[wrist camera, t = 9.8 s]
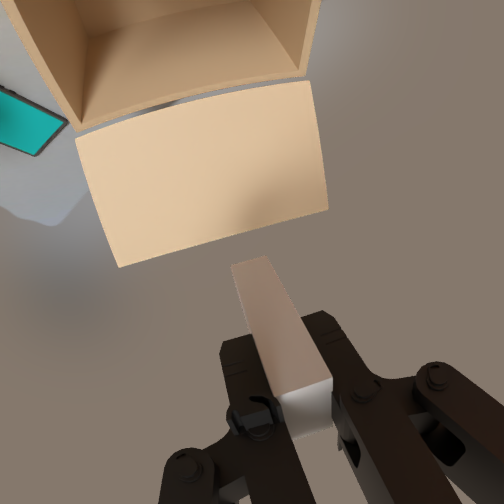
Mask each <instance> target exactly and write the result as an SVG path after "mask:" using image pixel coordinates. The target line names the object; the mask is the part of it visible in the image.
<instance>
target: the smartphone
mask: <svg viewBox="0 0 504 504" xmlns="http://www.w3.org/2000/svg"><path fill="white" fill-rule="evenodd" d="M66 124H67V119H66V118H64V117H62V116H60V115H58V114H56V113H54V112H52V111H50V110H48V109H46V108H44V107H42V106H40V105H38V104H36V103H34V102H32V101H30V100H28V99H26V98H24V97H22V96H20V95H18V94H16V92H14V91H12V90H8V89H6V88H4V86H1V85H0V144H3V145H6V146H8V147H11V148H13V149H16V150H18V151H21V152H24V153H26V154H29V155H31V156H34V157H36V156H37V155H38V154H39V153H40V152H41V151H42V150H43V149H44V147H45V146H46V145H47V144H48V143H49V142H50V141H51V140H52V139H53V138H54V137H55V136H56V135H57V133H58V132H59V131H60V130H61V129H62V128H63V127H64V126H65V125H66Z"/></svg>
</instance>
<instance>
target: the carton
mask: <svg viewBox="0 0 504 504" xmlns="http://www.w3.org/2000/svg"><path fill="white" fill-rule="evenodd" d="M0 1H1V3H2V5H3V7H4V9H5V11H6V13H7V15H8V17H9V19H10V21H11V23H12V24H13V26H14V28H15V30H16V32H17V34H18V36H19V38H20V39H21V41H22V43H23V45H24V47H25V48H26V50H27V52H28V54H29V56H30V57H31V59H32V61H33V63H34V64H35V66H36V68H37V69H38V71H39V73H40V75H41V76H42V78H43V80H44V81H45V83H46V85H47V86H48V88H49V90H50V91H51V93H52V94H53V96H54V98H55V99H56V101H57V103H58V104H59V106H60V107H61V109H62V110H63V112H64V114H65V115H66V117H67V118H68V120H69V121H70V123H71V124H72V126H73V128H74V129H75V131H76V132H80V131H82V130H85V129H88V128H90V127H93V126H95V125H98V124H101V123H104V122H106V121H109V120H112V119H115V118H118V117H121V116H124V115H127V114H130V113H133V112H136V111H139V110H142V109H146V108H149V107H152V106H156V105H159V104H163V103H166V102H170V101H173V100H177V99H181V98H185V97H189V96H193V95H197V94H201V93H206V92H210V91H214V90H220V89H224V88H229V87H234V86H240V85H245V84H251V83H257V82H263V81H270V80H277V79H283V78H291V77H299V76H305V74H306V69H307V65H308V60H309V56H310V51H311V47H312V42H313V37H314V33H315V28H316V23H317V18H318V14H319V9H320V4H321V0H0Z"/></svg>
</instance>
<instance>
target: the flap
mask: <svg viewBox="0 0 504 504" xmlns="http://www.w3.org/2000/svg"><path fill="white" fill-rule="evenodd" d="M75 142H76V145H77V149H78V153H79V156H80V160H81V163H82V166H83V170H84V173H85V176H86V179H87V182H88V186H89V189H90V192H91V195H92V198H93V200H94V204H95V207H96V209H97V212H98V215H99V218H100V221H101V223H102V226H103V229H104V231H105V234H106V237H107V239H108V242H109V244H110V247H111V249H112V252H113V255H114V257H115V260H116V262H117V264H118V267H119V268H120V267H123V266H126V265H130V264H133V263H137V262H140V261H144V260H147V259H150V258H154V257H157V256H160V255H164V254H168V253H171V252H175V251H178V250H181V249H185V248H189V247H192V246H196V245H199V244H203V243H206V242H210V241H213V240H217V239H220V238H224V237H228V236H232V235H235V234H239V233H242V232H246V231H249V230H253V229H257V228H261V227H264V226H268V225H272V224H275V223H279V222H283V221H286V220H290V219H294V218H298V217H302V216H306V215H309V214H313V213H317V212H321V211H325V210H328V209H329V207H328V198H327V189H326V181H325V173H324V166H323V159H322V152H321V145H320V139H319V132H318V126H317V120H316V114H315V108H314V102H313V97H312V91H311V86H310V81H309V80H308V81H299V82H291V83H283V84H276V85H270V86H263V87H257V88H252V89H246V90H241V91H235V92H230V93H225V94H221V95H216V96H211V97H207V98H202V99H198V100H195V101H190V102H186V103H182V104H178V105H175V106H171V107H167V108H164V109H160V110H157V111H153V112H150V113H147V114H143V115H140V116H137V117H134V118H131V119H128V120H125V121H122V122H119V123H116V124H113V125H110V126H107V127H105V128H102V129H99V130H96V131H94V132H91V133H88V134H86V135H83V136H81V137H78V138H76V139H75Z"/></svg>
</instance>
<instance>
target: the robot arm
mask: <svg viewBox="0 0 504 504" xmlns="http://www.w3.org/2000/svg"><path fill="white" fill-rule="evenodd" d="M230 267H231V270H232V274H233V277H234V281H235V285H236V289H237V292H238V296H239V300H240V303H241V307H242V311H243V314H244V318H245V321H246V324H247V327H248V330H249V333H250V334H248V335H245V336H241V337H238V338H234V339H231V340H227V341H223V343H222V347H221V350H220V353H219V355H220V360H221V365H222V370H223V374H224V378H225V383H226V388H227V393H228V397H229V402H230V406H229V408H228V410H227V414H226V421H227V423H228V425H229V426H230V429H229V431H228V433H227V434H226V435H225V436H224V437H223V438H222V439H220V440H219V441H218V442H216V443H214V444H213V445H210V446H209V447H207V448H205V449H203V450H201V449H197V448H185V449H181V450H179V451H177V452H175V453H174V454H173V455H172V456H171V457H170V458H169V459H168V460H167V462H166V465H165V467H164V473H163V479H162V484H161V490H160V496H159V502H158V504H239V500H240V499H241V498H243V497H245V496H247V495H250V499H251V502H252V504H316V502H315V499H314V497H313V494H312V492H311V489H310V486H309V484H308V481H307V479H306V476H305V473H304V471H303V468H302V465H301V463H300V460H299V458H298V455H297V452H296V450H295V447H294V444H293V442H292V441H293V440H296V439H299V438H302V437H305V436H308V435H311V434H313V433H316V432H319V431H322V430H325V429H327V428H330V427H333V421H334V423H335V426H336V428H337V430H338V444H337V445H338V450H339V451H340V450H342V448H343V451H344V453H345V455H346V457H347V459H348V461H349V463H350V465H351V468H352V470H353V472H354V474H355V476H356V478H357V480H358V483H359V485H360V487H361V489H362V491H363V493H364V495H365V497H366V500H367V502H368V504H462V503H461V501H460V499H459V498H458V496H457V494H456V493H455V491H454V489H453V487H452V486H451V484H450V482H449V481H448V479H447V477H448V478H449V479H450V480H451V481H452V482H453V483H454V484H455V485H457V486H458V487H459V488H460V489H461V490H462V491H463V492H464V493H465V494H466V495H467V496H469V497H470V498H471V499H472V500H473V501H474V502H475V503H476V504H504V406H503V405H502V404H500V403H499V402H498V401H496V400H495V399H494V398H493V397H491V396H490V395H489V394H487V393H486V392H485V391H483V390H482V389H481V388H480V387H478V386H477V385H476V384H474V383H473V382H472V381H470V380H469V379H468V378H466V377H465V376H464V375H462V374H461V373H460V372H459V371H457V370H456V369H454V368H453V367H452V366H450V365H448V364H446V363H444V362H437V361H436V362H431V363H427V364H426V365H424V366H422V367H421V368H420V370H419V371H418V372H417V374H416V376H411V377H405V378H399V379H385V378H381V377H380V376H378V375H375V374H373V373H372V372H371V371H370V370H369V369H368V368H367V366H366V365H365V363H364V362H363V360H362V359H361V357H360V356H359V354H358V353H357V351H356V350H355V348H354V346H353V345H352V343H351V342H350V341H349V339H348V338H347V336H346V334H345V333H344V331H343V330H341V327H340V326H339V324H338V323H337V321H336V320H335V318H334V317H333V316H331V315H329V314H328V313H326V312H324V311H323V310H322V311H319V312H316V313H313V314H310V315H307V316H304V317H300V316H299V314H298V312H297V311H296V309H295V307H294V305H293V303H292V301H291V300H290V298H289V296H288V294H287V292H286V290H285V289H284V287H283V285H282V284H281V281H280V280H279V278H278V276H277V274H276V272H275V271H274V269H273V267H272V265H271V263H270V261H269V260H268V258H267V256H266V255H265V256H262V257H258V258H255V259H251V260H248V261H244V262H241V263H237V264H233V265H231V266H230ZM445 475H446V476H447V477H446V476H445Z"/></svg>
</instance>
